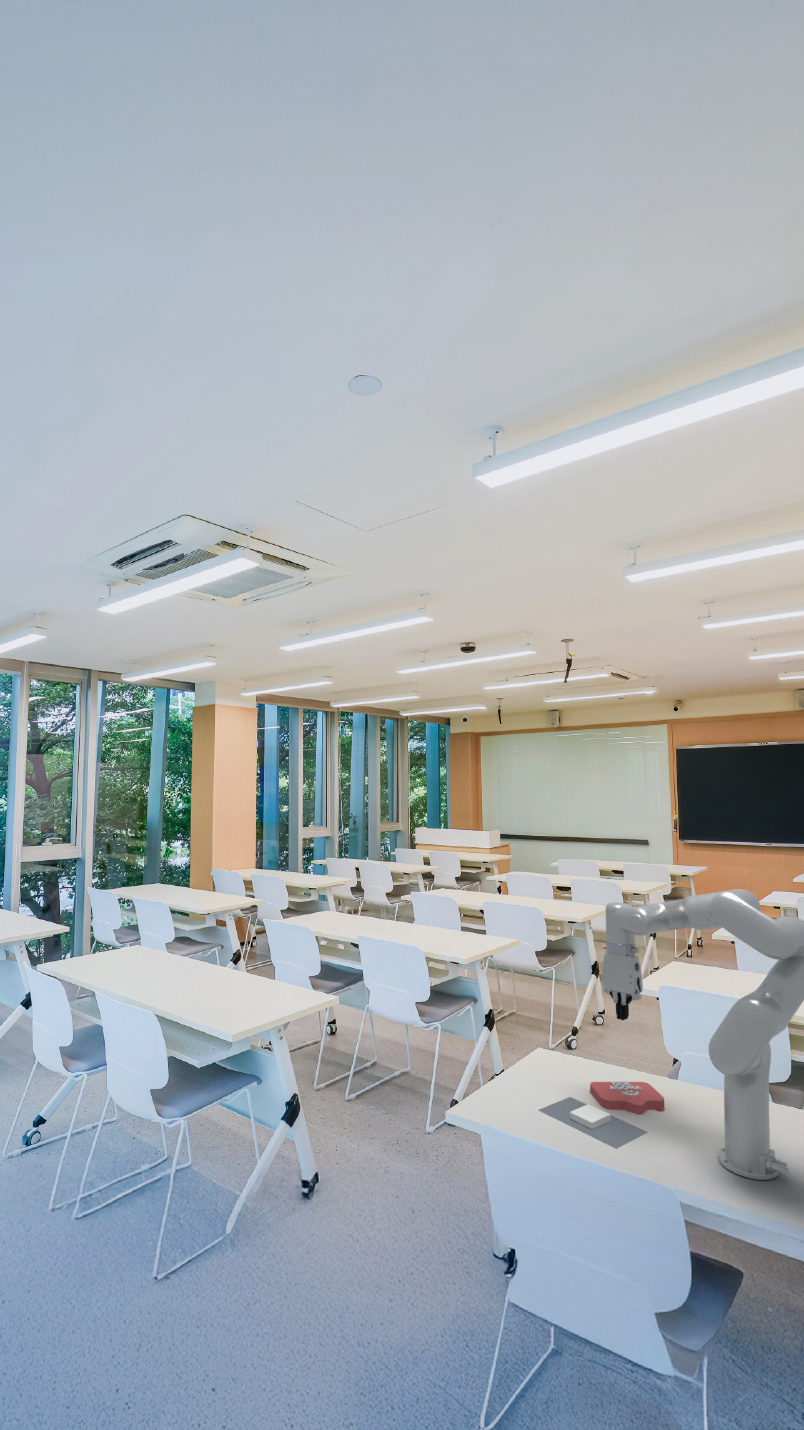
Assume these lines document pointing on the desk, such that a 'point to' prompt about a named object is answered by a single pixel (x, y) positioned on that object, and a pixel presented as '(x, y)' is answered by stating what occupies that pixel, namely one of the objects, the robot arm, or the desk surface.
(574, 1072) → the desk surface
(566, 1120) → the tile mat
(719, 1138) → the desk surface
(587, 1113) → the tile
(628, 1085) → the plaque
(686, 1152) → the desk surface
